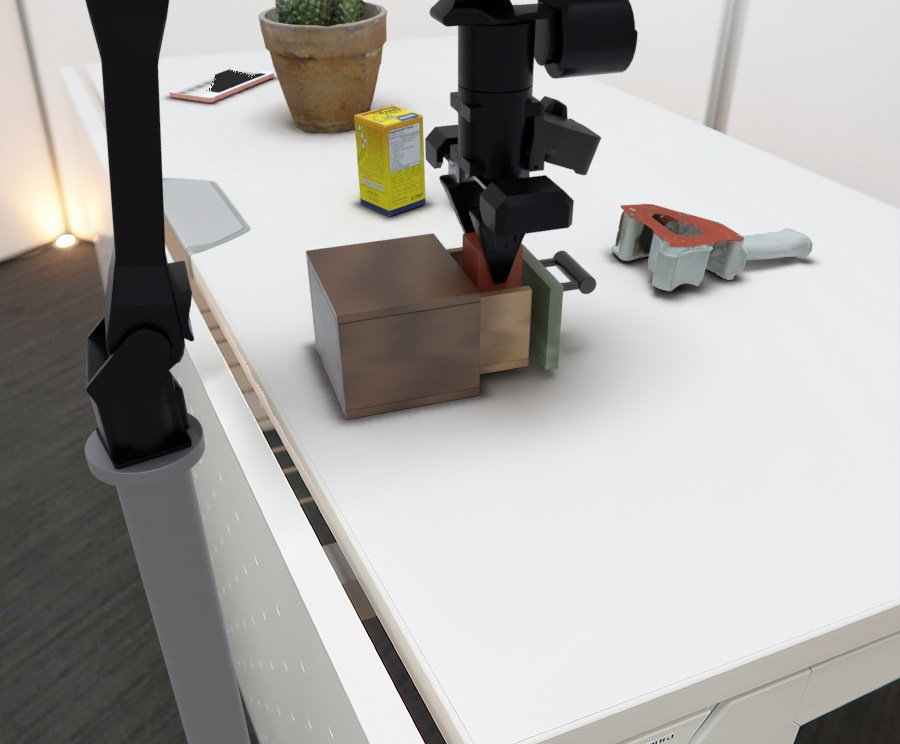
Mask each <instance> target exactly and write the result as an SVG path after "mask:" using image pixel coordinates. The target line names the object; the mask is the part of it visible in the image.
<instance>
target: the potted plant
mask: <svg viewBox="0 0 900 744" xmlns="http://www.w3.org/2000/svg"><path fill="white" fill-rule="evenodd" d="M274 4H275V5H274V7H271V8H267V9H265V10H263V11H262V12H260V13H259V14H258V15H257V17H258V21H259V25H260V32H261V35H262V38H263V43H264V47H265V49H266V50H267V51H268V52H269V54H270V59H271V62H272V66H273V69H274V73H275V74H276V78H277V81H278V84H279V85H280V88H281V91H282V94H283V96H284V100H285V102H286V105H287V108H288V111H289V113H290V117H291V120H292V122H293V124H294V125H295V127H296V128H298V129H299V130H302V131H304V132H307V133H309V132H310V133H319V134H341V133H346V132H351V131H355V120H354V115H357V114H361V113H365V112H369V111H371V109H372V104H373V101H374V97H375V92H376V88H377V83H378V78H379V71H380V67H381V64H382V59H383V49H384V45H385V44H386V42H387V16H388V15H387V14H388V10H387V9H386V7H385V6H383V5H380V4H376V3H373V2H367V1H364V0H275V2H274Z"/></svg>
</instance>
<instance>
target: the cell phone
mask: <svg viewBox="0 0 900 744" xmlns="http://www.w3.org/2000/svg"><path fill="white" fill-rule="evenodd" d="M230 70H231V69H229V68H227V69H224V70H222V71H218V72H216V73H217V74H216V73H214V74H215V77H214V78H215V79H216V80H215V79H214V82H213V81H212V82H213V83H214V85H213V86H212V84H211V86H212V88H211V93H210V88H209V93H208V94H204V97H200V96H193V95H186V94H179V93H172V92H169V96H170V97H171V98H174V99H175V98H176V99H183V100H190V101H196V102H202V103H214V102H216V101H219V100H222V99H223V98H225V97H226V98H227V97H229V96H231V95H233V94H236V93H238V92H240V91H243V90H245V89H248V88H251V87H253V86H255V85H257V84H260V83H264V82H265V81H267V80H270V79H272V78H274V77H275V71H271V70H263V69H262V70H263V71H259V74H255V76H254V75H253V76H251V75H250V76H249V75H248V74H247V75H246V73H244V74H243V73H242V72H239V73H238V71H236V73H235V71H234V72H233V70H231V71H230ZM240 73H242V74H240ZM257 73H258V72H257ZM248 76H249V77H248ZM251 77H252V78H251ZM261 77H262V78H261ZM258 78H259V79H258ZM255 79H257V80H255ZM253 80H255V81H253ZM251 81H252V82H251ZM249 82H250V83H249ZM244 84H245V85H244ZM206 91H207V90H206ZM202 96H203V95H202ZM207 97H208V98H207ZM211 97H212V98H211Z"/></svg>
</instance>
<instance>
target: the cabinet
mask: <svg viewBox="0 0 900 744" xmlns="http://www.w3.org/2000/svg"><path fill="white" fill-rule="evenodd" d="M446 249H447V248H446V247H445V246H444V245H443V243H442V242H441V241H440V239H439V238H438V237H437V236H436V234H435V233H433V232H432V233H425V234H419V235H410V236H403V237H397V238H389V239H382V240H375V241H368V242H359V243H353V244H344V245H337V246H331V247H330V246H329V247H324V248H323V247H322V248H315V249H308V250H305V256H306V257H305V258H306V265H307V274H308V276H307V277H308V284H309V294H310V303H311V304H310V305H311V313H312V314H311V315H312V320H313V322H312V323H313V332H314V340H315V341H314V342H315V348H316V350H317V353H318V355H319V358H320V360H321V362H322V365H323V367H324V370H325V372H326V375H327V377H328V379H329V382H330V384H331V386H332V389H333V391H334V393H335V395H336V399H337V401H338V403H339V406H340V407H341V410H342V412H343V415H344V417H345V420H352V419H358V418H362V417H368V416H372V415H373V416H374V415H379V414H383V413H390V412H396V411H400V410H406V409H411V408H416V407H423V406H427V405H433V404H439V403H443V402H449V401H455V400H460V399H465V398H466V399H467V398H470V397H475V396H480V388H481V387H480V386H481V385H480V383H481V382H480V380H481V379H480V378H481V377H480V376H481V374H480V308H481V302H480V300H481V293H480V292H479V290H478V289H477V288H476V286H475V285H474V284H473V283H472V281H471V280H470V279H469V278H468V276H467V275H466V274H465V273H464V271H463V270H462V269H461V267H460V266H459V265H458V264H457V262H456V261H455V260H454V259H453V257H452V256H451V255H450V254H449V252H448V251H447V250H446Z"/></svg>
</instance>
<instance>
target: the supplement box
mask: <svg viewBox="0 0 900 744" xmlns="http://www.w3.org/2000/svg"><path fill="white" fill-rule="evenodd" d="M354 120H355V130H354V132H355V145H356V146H355V147H356V159H357V170H358V171H357V173H358V175H357V176H358V185H359V186H358V187H359V188H358V189H359V200H360V205H361V206H363V207H366V208H368V209H371V210H372V211H375V212H377V213H380V214H382V215H385V216H387V217H392V216H395V215H397V214H398V215H399V214H401V213H403V212H406V211H409V210H411V209H415V208H418V207H420V206H424V205H426V176H425V174H426V173H425V172H426V171H425V149H424V148H425V146H424V145H425V144H424V143H425V141H424V115H423V114H422V113H419V112H416V111H412V110H409V109H406V108H403V107H401V106H396V105H393V104H392V105H388V106H384V107H380V108H377V109H372V110H370V111H369V112H365V113H361V114H357V115H354Z"/></svg>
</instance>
